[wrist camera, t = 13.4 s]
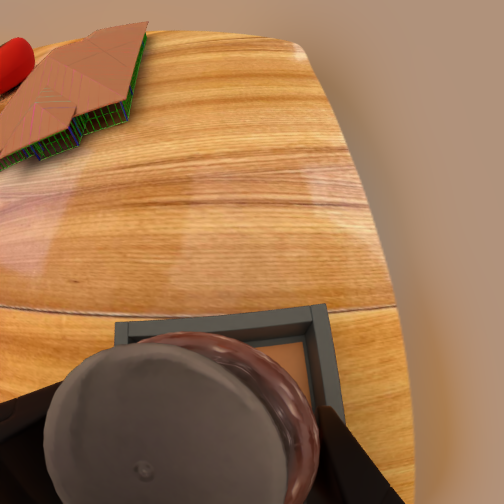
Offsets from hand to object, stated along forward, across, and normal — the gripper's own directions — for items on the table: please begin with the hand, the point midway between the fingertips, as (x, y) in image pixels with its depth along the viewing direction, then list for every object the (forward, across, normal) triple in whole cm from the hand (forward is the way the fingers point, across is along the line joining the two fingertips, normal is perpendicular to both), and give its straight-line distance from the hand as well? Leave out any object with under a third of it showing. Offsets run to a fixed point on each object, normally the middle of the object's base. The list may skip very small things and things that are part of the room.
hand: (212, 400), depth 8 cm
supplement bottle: (+4, 0, +6) cm, 7 cm away
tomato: (+36, +57, -25) cm, 72 cm away
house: (+28, +30, -16) cm, 44 cm away
